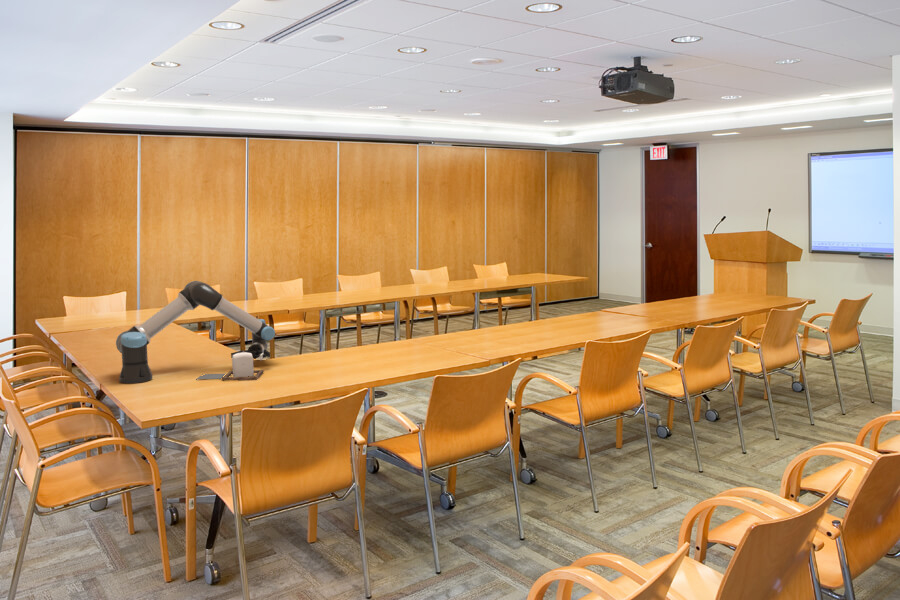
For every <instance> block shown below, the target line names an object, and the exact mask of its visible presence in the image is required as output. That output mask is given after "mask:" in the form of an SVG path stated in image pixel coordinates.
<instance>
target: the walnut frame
mask: <svg viewBox="0 0 900 600" xmlns="http://www.w3.org/2000/svg"><path fill="white" fill-rule="evenodd" d="M263 372H264V373H265V370H264V369H254V373H257V374H254V376H249V377H233V376H232V375H233V370H229V371H228V372H226V373H225V374H226V375H225V376H224V377H222V379H221V381H222V380H238V381H258V380H257V379H260V377H261V376H262V375H263V374H264V373H263ZM231 374H232V375H231ZM230 375H231V376H230ZM229 376H230V377H229Z"/></svg>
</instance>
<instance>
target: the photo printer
mask: <svg viewBox="0 0 900 600" xmlns="http://www.w3.org/2000/svg"><path fill="white" fill-rule="evenodd" d="M231 362H232V364H231V365H232V366H231V367H232V371H233V374H232V377H248V376H249V377H253V376H255V374H254V370H255V369H254V358H253V356H252V354H251V353H247V352H244V351H243V352H242V353H237V354H234V355H233V357H232V358H231Z"/></svg>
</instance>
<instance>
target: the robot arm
mask: <svg viewBox="0 0 900 600" xmlns="http://www.w3.org/2000/svg"><path fill="white" fill-rule="evenodd" d="M199 306H202V307H205V308H207V309H209V310H211V311H216V312H218V313H219V314H221V315H223V316H224V317H227V318H228V319H229V320H231V321H232V322H234V323H236V324H238V325H239V326H241V327H243V328H245V329H246V330H248V331H249V332H251V341H252V342H251V343H252V344H251V345H250V346H249V347H248V348H247V349H246V350H243V349H241V350H239V351H235V352H231V353H230V357H231V359H232V357H233V355H234V354H237V353H242V352H247V353H251V354H252V356H253V359H258V358H259V360H260V361H263V359H266V358H271V352H270V351H268V346H269V345H268V342H267V341H271V340H273V339H274V338H275V335H276V330H275V329H274V328H273V327H272V326H269V325H268V324H266V319H263V318H259V319H258V318H257V317H255V316H254V315H252V314H250V313H248V312H247V311H245V310H244V309H242V308H241V307H239V306H237V305H236V304H234V303H233V302H231V301H229V300H228V299H226V298H225V297H224V296H223V294H222V293H220V292H218V291H217V290H216V289H214V288H213V287H212V286H211V285H210V284H208V283H206V282H203V281H198V280H193V281H190V282H188V283H187V284H186V285H185V286H184V288H183V289H181V291H179V292H178V294H177V297H176V298H175V299H174V300H172V301H171V302H169V303H168V304H167V305H165V306H164V307H163V308H161V309H160V310H159V311H157V312H156V313H154V314H153V315H152V316H151V317H148V319H146V320H145V321H144V322H142V323H141V324H139V325H133V326H132V327H130V328H129V329H128V330H125V331H122V332H121V333H120V334H119V335H118V336H117V337H116V341H115V346H116V349H117V350H118V351H119V352H120V354H121V363H122V364H121V365H122V367H121V370H120V374H119V379H118V380H119V383H121V384H140V383H139V382H141V383H145V382H144V381H146V382H149V381H148V380H150V381H151V379H152V378H153V373H152V370H151V368H150V366H149V361H148V360H149V359H148V345H149V344H150V343H151V339H152V338H154V336H156V335H157V334H158V333H160V332H161V331H163V330H164V329H165V328H166V327H168V326H169V325H170V324H172V323H174V322H175V321H176V320H177V319H179V318H180V317H181V316H182V315H184V314H185V313H186V312H187V311H189V310H190V311H193V310H195V309H197V308H198V307H199ZM152 380H153V379H152Z"/></svg>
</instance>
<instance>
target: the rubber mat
mask: <svg viewBox="0 0 900 600" xmlns="http://www.w3.org/2000/svg"><path fill="white" fill-rule="evenodd" d="M203 374H205V375H203ZM225 374H226V373H202V374H201V375H203V376H201V375H199V376H198V377H197V378H195V380H196V381H198V380H197V379H221V378H222V377H223V376H224V375H225ZM221 380H222V379H221Z"/></svg>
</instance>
